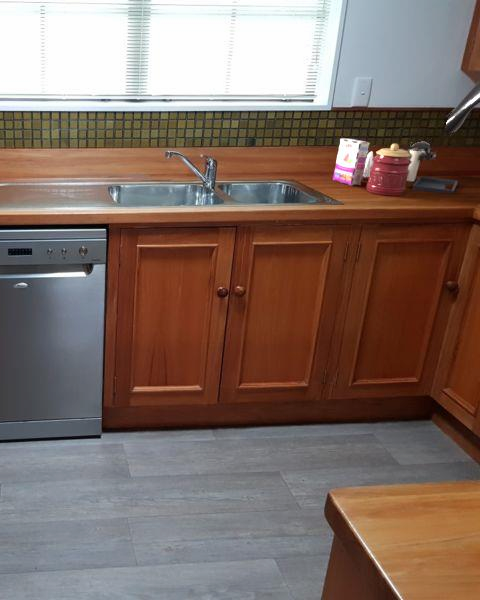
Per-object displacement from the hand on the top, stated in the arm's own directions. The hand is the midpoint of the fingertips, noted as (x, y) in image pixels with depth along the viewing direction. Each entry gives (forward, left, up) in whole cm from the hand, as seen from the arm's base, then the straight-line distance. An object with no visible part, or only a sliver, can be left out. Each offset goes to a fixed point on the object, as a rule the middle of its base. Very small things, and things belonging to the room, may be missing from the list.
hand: (414, 156), depth 240 cm
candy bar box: (+19, +19, -10) cm, 29 cm away
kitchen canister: (+4, +27, -10) cm, 30 cm away
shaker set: (+13, +5, -10) cm, 18 cm away
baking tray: (-10, +5, -10) cm, 15 cm away
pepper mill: (0, -3, -10) cm, 10 cm away
